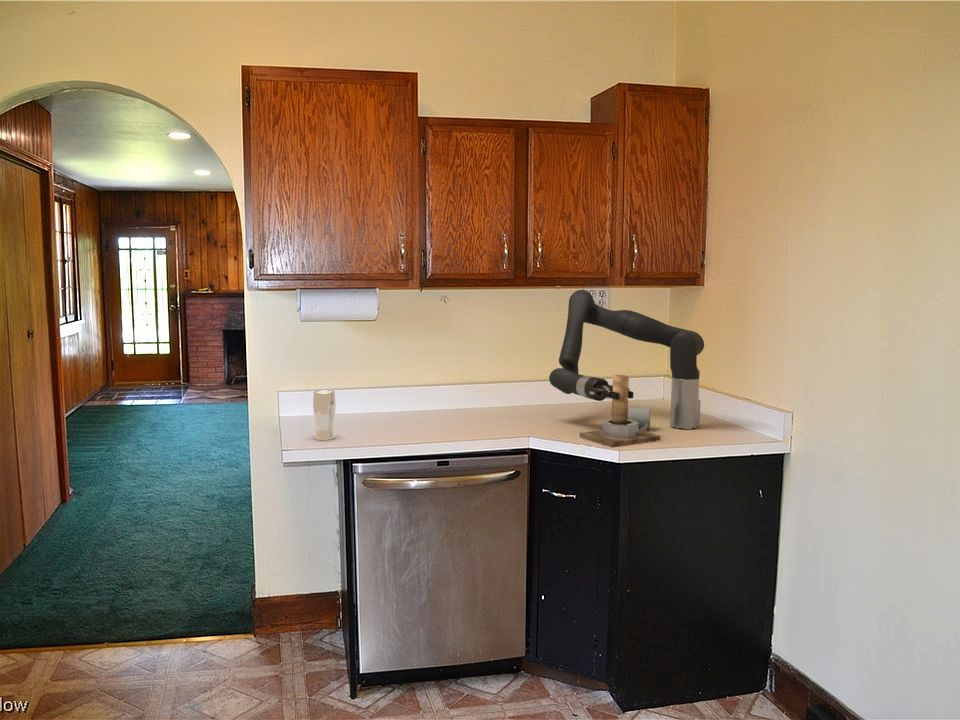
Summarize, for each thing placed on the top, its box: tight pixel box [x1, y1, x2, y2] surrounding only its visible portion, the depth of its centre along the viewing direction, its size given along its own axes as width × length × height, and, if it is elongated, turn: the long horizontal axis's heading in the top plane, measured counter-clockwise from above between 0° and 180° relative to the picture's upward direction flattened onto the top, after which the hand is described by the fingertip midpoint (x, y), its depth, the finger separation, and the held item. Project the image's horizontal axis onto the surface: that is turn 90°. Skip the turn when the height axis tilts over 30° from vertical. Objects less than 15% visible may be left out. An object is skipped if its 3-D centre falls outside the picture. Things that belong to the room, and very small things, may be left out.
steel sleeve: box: [601, 418, 639, 438], centre depth 254 cm, size 11×11×4 cm
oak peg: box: [610, 374, 630, 424], centre depth 253 cm, size 5×5×15 cm
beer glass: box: [312, 389, 336, 441], centre depth 252 cm, size 7×7×15 cm
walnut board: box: [579, 429, 661, 448], centre depth 255 cm, size 20×16×2 cm
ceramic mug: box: [627, 406, 651, 432], centre depth 268 cm, size 11×8×8 cm
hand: (625, 395), depth 251 cm, fingers closed on oak peg, 5 cm apart
